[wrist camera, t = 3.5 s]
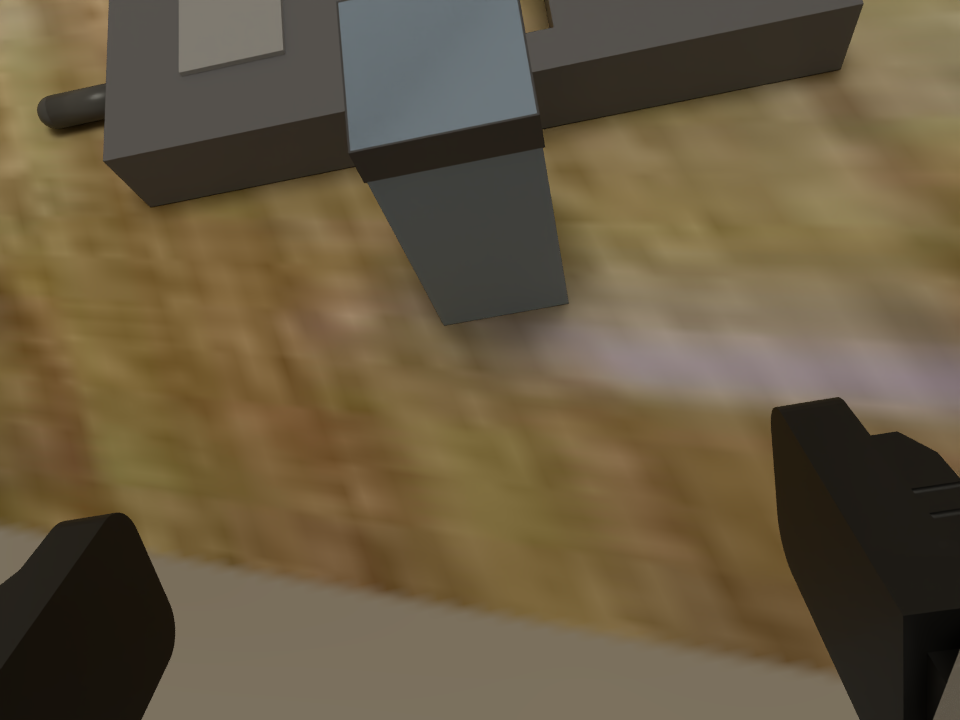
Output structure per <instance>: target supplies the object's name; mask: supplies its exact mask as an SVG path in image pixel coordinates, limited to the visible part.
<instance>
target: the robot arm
mask: <svg viewBox="0 0 960 720" xmlns="http://www.w3.org/2000/svg"><path fill="white" fill-rule="evenodd" d="M771 433H772V447H773V460H774V473H775V487H776V500H777V514H778V523H779V530H780V535H781V540H782V544H783V548H784V552H785V556H786V559H787V562H788V565H789V567H790V570H791V572H792V575H793V577H794V579H795V581H796V583H797V585H798V588H799V590H800V592H801V594H802V596H803V598H804V600H805V603H806V605H807V607H808V609H809V611H810V613H811V616H812V618H813V620H814V622H815V624H816V626H817V629H818V631H819V633H820V635H821V637H822V639H823V641H824V644H825V646H826V648H827V650H828V652H829V654H830V657H831V659H832V661H833V663H834V665H835V667H836V670H837V672H838V674H839V676H840V678H841V680H842V682H843V685H844V687H845V689H846V691H847V693H848V695H849V697H850V700H851V702H852V704H853V706H854V708H855V710H856V713H857V715H858V717H859V719H860V720H960V478H959V477H958V476H957V474H956V473H955V472H954V471H953V470H952V469H951V468H950V466H949V465H948V464H947V463H946V462H945V461H944V459H943V458H942V457H941V456H940V455H939V454H938V453H937V452H936V451H934V450H932V449H930V448H928V447H926V446H924V445H922V444H920V443H918V442H917V441H915V440H913V439H911V438H909V437H907V436H905V435H903V434H901V433H899V432H898V431H897V432H891V433H884V434H878V435H870V434H869V433H868V432H867V430H866V429H865V428H864V426H863V425H862V424H861V422H860V421H859V420H858V418H857V417H856V416H855V414H854V413H853V412H852V410H851V409H850V408H849V407H848V405H847V404H846V403H845V401H844V400H843V399H841V398H840V397H836V398H829V399H823V400H817V401H811V402H805V403H799V404H792V405H786V406H780V407H775V408H773V410H772V414H771ZM174 642H175V622H174V616H173V612H172V608H171V606H170V603H169V601H168V599H167V596H166V594H165V592H164V590H163V587H162V585H161V583H160V581H159V578H158V576H157V574H156V572H155V569H154V567H153V565H152V562H151V560H150V558H149V556H148V553H147V551H146V549H145V547H144V544H143V542H142V540H141V538H140V535H139V533H138V531H137V529H136V527H135V525H134V523H133V522H132V520H131V519H130V518H129V517H128V516H126V515H125V514H123V513H111V514H105V515H99V516H93V517H87V518H81V519H74V520H68V521H63V522H60V523H58V524H57V525H55V527H54V528H53V529H52V530H51V531H50V532H49V534H48V535H47V536H46V537H45V539H44V540H43V541H42V543H41V544H40V545H39V547H38V548H37V549H36V550H35V551H34V553H33V554H32V555H31V556H30V558H29V559H28V560H27V562H26V563H25V564H24V566H23V567H22V568H21V569H20V570H19V571H18V572H17V573H15V574H14V575H13V576H12V577H10V578H9V579H8V580H6V581H5V582H4V583H3V584H1V585H0V720H141V719H142V717H143V715H144V713H145V711H146V709H147V706H148V704H149V702H150V700H151V698H152V696H153V694H154V692H155V690H156V688H157V686H158V683H159V681H160V679H161V677H162V675H163V673H164V671H165V669H166V667H167V665H168V662H169V660H170V658H171V655H172V652H173V648H174Z"/></svg>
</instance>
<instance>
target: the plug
mask: <svg viewBox="0 0 960 720" xmlns="http://www.w3.org/2000/svg"><path fill="white" fill-rule="evenodd" d="M336 8H337V21H338V33H339V45H340V58H341V70H342V83H343V95H344V107H345V120H346V132H347V144H348V154H349V156H350V158H351V159H352V161H353V163H354V165H355V167H356V169H357V171H358V172H359V174H360V176H361V178H362V180H363V182H364V183H368V185H369V187H370V189H371V190H372V192H373V194H374V196H375V198H376V200H377V202H378V203H379V205H380V207H381V209H382V211H383V213H384V215H385V217H386V218H387V220H388V222H389V224H390V226H391V228H392V230H393V231H394V233H395V235H396V237H397V239H398V241H399V243H400V244H401V246H402V248H403V250H404V252H405V254H406V256H407V258H408V259H409V261H410V263H411V265H412V267H413V269H414V271H415V272H416V274H417V276H418V278H419V280H420V282H421V284H422V285H423V287H424V289H425V291H426V293H427V295H428V297H429V299H430V300H431V302H432V304H433V306H434V308H435V310H436V312H437V313H438V315H439V317H440V319H441V321H442V323H443V325H450V324H455V323H461V322H467V321H472V320H478V319H484V318H489V317H495V316H500V315H506V314H512V313H517V312H523V311H529V310H534V309H540V308H545V307H551V306H557V305H562V304H568V303H569V302H568V296H567V290H566V284H565V278H564V272H563V266H562V260H561V254H560V248H559V242H558V236H557V230H556V224H555V218H554V212H553V206H552V200H551V194H550V188H549V182H548V176H547V170H546V164H545V158H544V152H543V148H544V147H545V144H544V138H543V132H542V126H541V119H540V113H539V108H538V102H537V96H536V91H535V85H534V79H533V74H532V68H531V62H530V56H529V51H528V45H527V39H526V34H525V28H524V22H523V17H522V11H521V5H520V0H341V1H336Z"/></svg>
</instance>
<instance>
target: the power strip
mask: <svg viewBox="0 0 960 720" xmlns="http://www.w3.org/2000/svg"><path fill="white" fill-rule="evenodd" d="M336 1H341V0H109V15H108V42H107V70H106V83H105V84H100V85H96V86H91V87H87V88H82V89H77V90H73V91H68V92H64V93H59V94H54V95H50V96H47V97H45V98H43V99H42V100H41V101H40V102H39V104H38V107H37V113H38V116H39V118H40V120H41V121H42V122H43V123H44V124H45V125H46V126H48V127H50V128H55V129H60V128H65V127H70V126H74V125H79V124H84V123H88V122H93V121H98V120H103V119H105V125H104V152H103V162H104V163H105V164H107V165H108V166H109V167H110V168H111V169H112V170H113V171H114V172H115V173H116V174H117V175H118V176H119V177H120V178H121V179H122V180H123V181H124V182H125V183H126V184H127V185H128V186H129V187H130V188H131V189H132V190H133V191H134V192H135V193H136V194H137V195H138V196H139V197H140V198H141V199H143V200H144V201H145V202H146V203H147V204H148V205H149V206H150V207H153V206H158V205H163V204H168V203H173V202H178V201H183V200H188V199H193V198H198V197H203V196H208V195H213V194H218V193H223V192H228V191H233V190H238V189H243V188H248V187H253V186H258V185H263V184H268V183H273V182H278V181H283V180H288V179H293V178H298V177H303V176H308V175H313V174H318V173H323V172H328V171H333V170H338V169H343V168H348V167H353V166H355V165H354V163H353V161H352V159H351V158H350V156H349V154H348V144H347V132H346V120H345V107H344V95H343V83H342V70H341V58H340V45H339V33H338V21H337V8H336ZM544 1H545V6H546V11H547V17H548V22H549V27H550V28H548V29H544V30H539V31H534V32H529V33H525V34H526V39H527V45H528V51H529V56H530V62H531V68H532V74H533V79H534V85H535V91H536V96H537V102H538V108H539V113H540V119H541V126H542V129H543V128H548V127H553V126H558V125H563V124H568V123H573V122H578V121H583V120H588V119H593V118H598V117H603V116H608V115H613V114H618V113H623V112H628V111H633V110H638V109H643V108H648V107H653V106H658V105H663V104H668V103H673V102H678V101H683V100H688V99H693V98H698V97H703V96H708V95H713V94H718V93H723V92H728V91H733V90H738V89H743V88H748V87H753V86H758V85H763V84H768V83H773V82H778V81H783V80H788V79H793V78H798V77H803V76H808V75H813V74H818V73H823V72H828V71H833V70H838V69H841V67H842V64H843V61H844V58H845V55H846V52H847V49H848V47H849V44H850V41H851V38H852V35H853V32H854V29H855V27H856V24H857V21H858V18H859V15H860V12H861V9H862V6H863V1H862V0H544Z"/></svg>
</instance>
